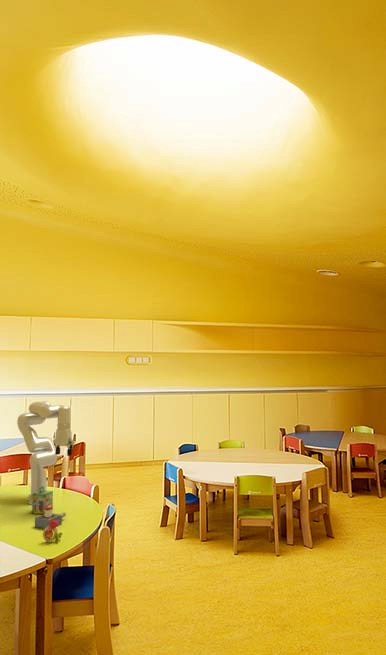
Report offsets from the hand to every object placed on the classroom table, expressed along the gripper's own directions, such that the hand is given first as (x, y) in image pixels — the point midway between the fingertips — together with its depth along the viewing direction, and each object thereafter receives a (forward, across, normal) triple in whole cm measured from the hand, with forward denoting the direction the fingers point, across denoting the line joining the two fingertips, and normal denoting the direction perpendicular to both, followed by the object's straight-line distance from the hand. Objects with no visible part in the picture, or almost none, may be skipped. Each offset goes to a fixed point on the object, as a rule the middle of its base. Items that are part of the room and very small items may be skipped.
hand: (63, 454), depth 277 cm
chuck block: (+33, +12, -20) cm, 40 cm away
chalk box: (+34, -10, -7) cm, 36 cm away
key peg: (+33, +12, -23) cm, 42 cm away
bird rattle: (+34, +32, -39) cm, 61 cm away
